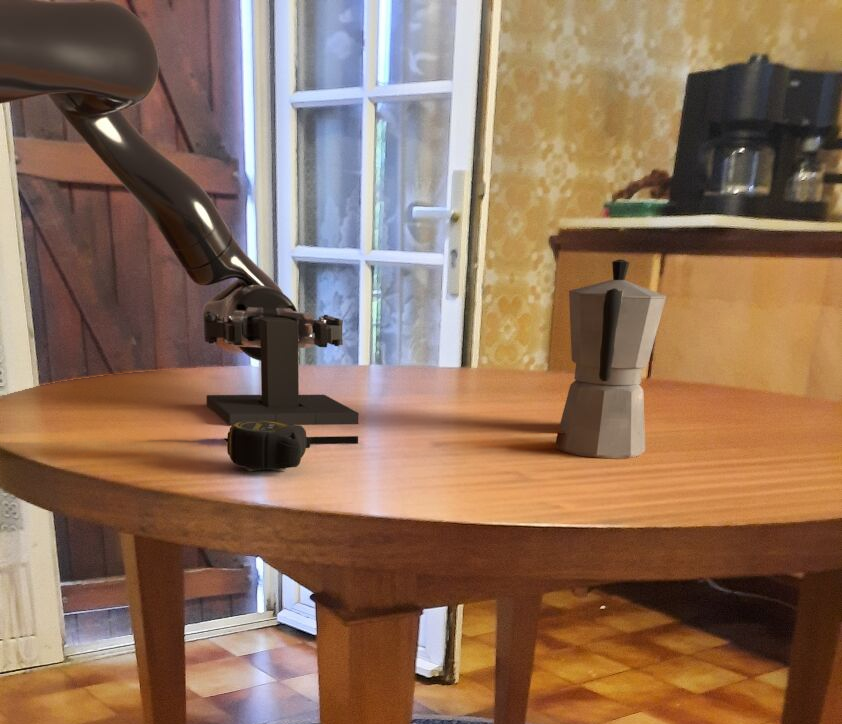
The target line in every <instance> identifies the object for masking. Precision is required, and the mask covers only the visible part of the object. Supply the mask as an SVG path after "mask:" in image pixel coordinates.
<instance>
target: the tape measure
mask: <svg viewBox="0 0 842 724" xmlns="http://www.w3.org/2000/svg"><path fill="white" fill-rule="evenodd" d="M311 437H312V436H307V431H306V429H305V428H304V427H303V425H286V424H281V423H276V422H267V421H245V422H239V423H236V424H234V425H232V426H230V428H229V431H228V432H227V437H226V438H227V442H226V449H227V454H228V456H229V459H230V461H231V462H232V463H233V464H234V465H236V466H240V467H243V468H245V469H246V471H248V472H253V471H258V470H263V471H265V470H282V471H284V472H285V471H287V469H290V468H296V467H298V466H299V465H300V463H301V460H302V458H303V457H304V455H305V453H306V450H307V449H310V447H311V444H310V443H309V440H310V439H311Z"/></svg>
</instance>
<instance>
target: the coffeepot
mask: <svg viewBox="0 0 842 724" xmlns="http://www.w3.org/2000/svg"><path fill="white" fill-rule="evenodd" d="M611 265H612V267H611V268H612V279H611V280H607V281H602V282H599V283H593V284H590V285H586V286H583V287H578V288H574V289H571V290H568V300H569V302H568V303H569V325H570V326H569V327H570V328H569V329H570V352H571V361H572V362H573V363H574V364H575V370H574V381H573V382H572V383H570V384H569V389H568V392H567V396H566V400H565V404H564V408H563V411H562V416H561V418H560V423H559V427H558V429H559V430H560V431H562V432H557V435H556V438H555V442H554V445H555V447H556V448H557V449H558V450H559V451H561V452H563V453H566V454H570V455H573V456H574V455H575V456H580V457H587V458H596V459H597V458H598V459H631V458H637V457H640V456H641V455H642V454H643V453H645V452H646V430H645V429H646V428H645V426H646V425H645V403H644V401H645V399H644V395H645V394H644V389H643V387H642V385H640V384H641V383H642V376H643V368H645V367H647V366H648V365H649V362H650V358H651V354H652V351H653V348H654V344H655V340H656V336H657V333H658V329H659V325H660V321H661V317H662V314H663V310H664V306H665V303H666V299H667V295H664V294H662V293H660V292H658V291H657V292H656V291H654V290H651V289H649V288H646V287H643V286H641V285H638V284H635V283H632V282H630V281H628V280H626V278H627V277H626V276H627V273H628V269H629V266H630V261H627V260H626V259H622V258H621V259H620V258H618V259H616V260H613V261H612V262H611ZM639 455H640V456H639ZM636 456H637V457H636Z"/></svg>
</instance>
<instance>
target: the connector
mask: <svg viewBox="0 0 842 724" xmlns="http://www.w3.org/2000/svg"><path fill="white" fill-rule="evenodd" d="M298 341H299V340H298V322H296V321H293V320H291V319H260V343H261V361H260V378H261V380H260V381H261V382H260V383H261V384H260V385H261V386H260V387H261V395H262V405H263V406H265V407H299V395H300V393H299V392H300V391H299V389H300V388H299V387H300V386H299V383H300V382H299V380H300V379H299V348H298Z"/></svg>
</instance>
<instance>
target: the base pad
mask: <svg viewBox="0 0 842 724" xmlns="http://www.w3.org/2000/svg"><path fill="white" fill-rule="evenodd" d="M206 407H207V408H209V409H210V410H211V411H212V412H213V413H215V415H217V416H218V417H219V418H220V419H221V420H222V421H224V423H226V424H227V425H228V426H229V427H231V426H232V425H234V424H236V423H239V422H245V421H267V422H276V423H281V424H286V425H300V426H326V425H327V426H330V425H334V426H335V425H359V422H360V421H359V420H360V419H359V415H360V414H359V412H358V411H356V410H354V409H353V408H350V407H349V406H347V405H345V404H342V403H341V402H339V401H337V400H335V399H333V398H332V397H329V396H328V395H326V394H299V407H265V406H263V405H262V394H206ZM310 437H311V439H310V440H309V443H310V445H344V444H345V445H346V444H349V445H350V444H351V445H352V444H359V435H341V436H339V435H338V436H336V435H335V436H310ZM222 439H223V440H224V441H225V442H226V443H227V437H225V438H222Z"/></svg>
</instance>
